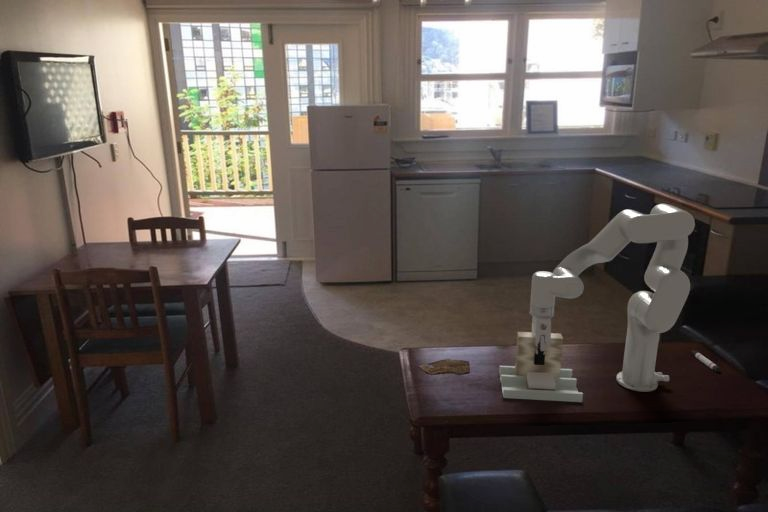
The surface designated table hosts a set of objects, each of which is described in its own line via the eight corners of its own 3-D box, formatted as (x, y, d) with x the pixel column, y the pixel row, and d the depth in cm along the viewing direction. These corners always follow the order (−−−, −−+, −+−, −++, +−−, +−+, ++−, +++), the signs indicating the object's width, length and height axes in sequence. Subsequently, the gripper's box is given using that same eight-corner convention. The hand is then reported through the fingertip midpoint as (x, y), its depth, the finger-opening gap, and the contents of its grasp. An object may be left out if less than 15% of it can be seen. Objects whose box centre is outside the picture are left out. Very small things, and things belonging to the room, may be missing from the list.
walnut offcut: (551, 387, 180) (551, 380, 179) (554, 396, 174) (555, 389, 173) (526, 385, 181) (526, 378, 180) (528, 395, 175) (529, 388, 174)
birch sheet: (557, 377, 186) (560, 333, 181) (559, 383, 182) (563, 338, 178) (514, 375, 187) (517, 331, 183) (515, 381, 184) (518, 336, 179)
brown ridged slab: (419, 375, 190) (419, 372, 190) (417, 361, 201) (417, 358, 201) (494, 374, 191) (494, 371, 190) (487, 360, 201) (488, 357, 201)
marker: (720, 372, 191) (721, 367, 191) (714, 372, 191) (715, 367, 191) (693, 352, 206) (694, 348, 205) (688, 353, 206) (689, 348, 205)
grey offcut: (551, 380, 179) (552, 373, 178) (555, 389, 173) (555, 382, 173) (526, 378, 180) (527, 371, 179) (529, 388, 174) (529, 380, 174)
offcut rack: (570, 377, 188) (571, 368, 187) (582, 404, 171) (583, 394, 170) (498, 374, 190) (499, 364, 189) (503, 400, 174) (503, 390, 173)
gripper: (558, 320, 169) (553, 373, 174) (549, 301, 185) (545, 350, 190) (533, 319, 170) (529, 372, 175) (526, 300, 186) (523, 349, 191)
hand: (537, 360), depth 183 cm, fingers closed on birch sheet, 4 cm apart
